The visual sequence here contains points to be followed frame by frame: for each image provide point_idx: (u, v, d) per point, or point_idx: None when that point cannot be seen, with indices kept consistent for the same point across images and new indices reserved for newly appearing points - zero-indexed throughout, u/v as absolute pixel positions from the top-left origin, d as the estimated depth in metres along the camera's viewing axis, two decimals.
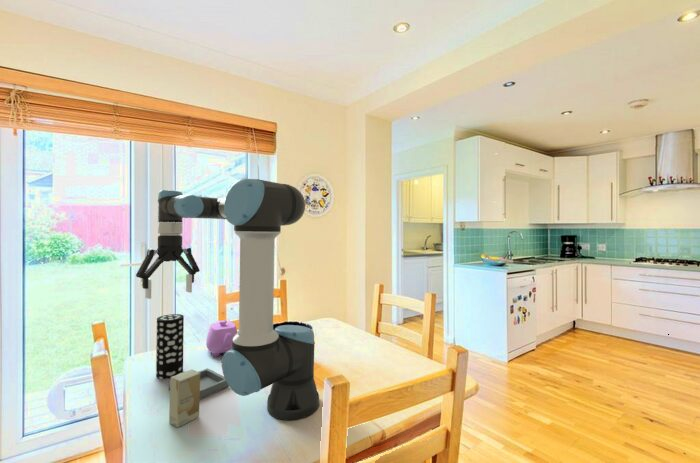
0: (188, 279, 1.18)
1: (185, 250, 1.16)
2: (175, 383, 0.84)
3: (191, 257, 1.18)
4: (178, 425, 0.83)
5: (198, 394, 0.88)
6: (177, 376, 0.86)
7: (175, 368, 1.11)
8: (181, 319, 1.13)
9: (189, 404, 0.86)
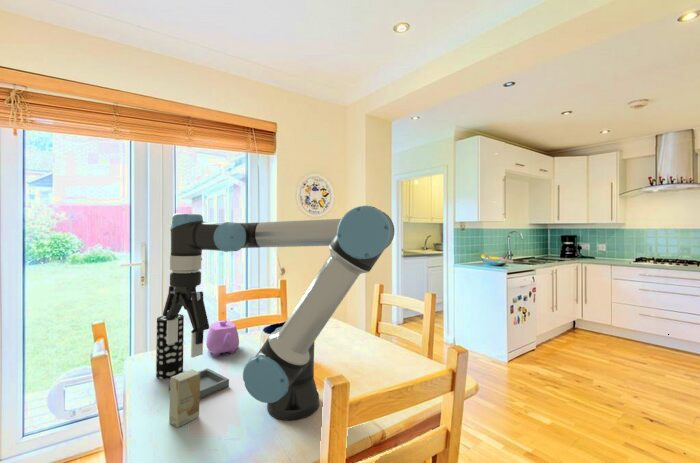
0: None
1: None
2: (175, 383, 0.84)
3: (194, 307, 0.81)
4: (178, 425, 0.83)
5: (198, 394, 0.88)
6: (177, 376, 0.86)
7: (175, 368, 1.11)
8: (181, 319, 1.13)
9: (189, 404, 0.86)
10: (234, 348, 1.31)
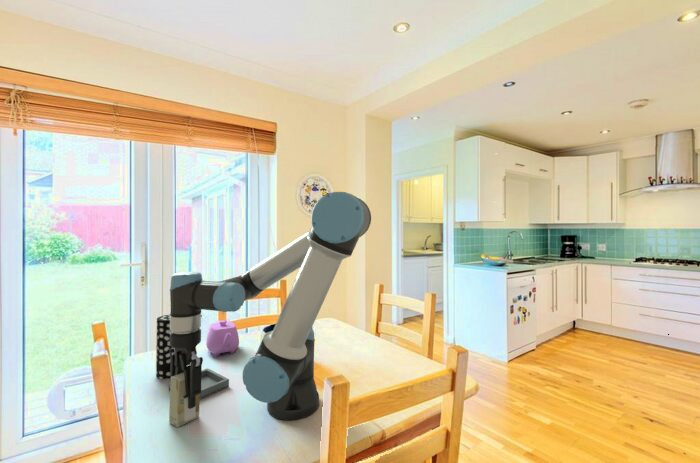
0: None
1: (193, 359, 0.83)
2: (175, 383, 0.84)
3: (191, 373, 0.83)
4: (178, 425, 0.83)
5: (198, 394, 0.88)
6: (177, 376, 0.86)
7: None
8: None
9: None
10: (234, 348, 1.31)
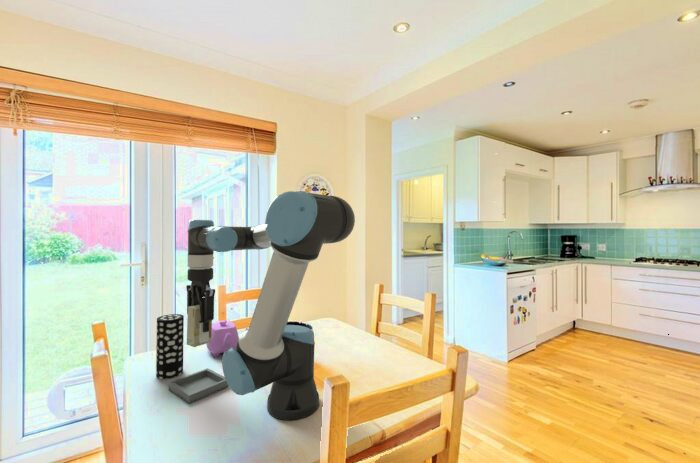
0: None
1: None
2: (192, 311, 1.00)
3: (205, 301, 0.99)
4: (194, 345, 1.00)
5: (210, 323, 1.04)
6: (193, 306, 1.02)
7: (175, 368, 1.11)
8: (181, 319, 1.13)
9: None
10: None
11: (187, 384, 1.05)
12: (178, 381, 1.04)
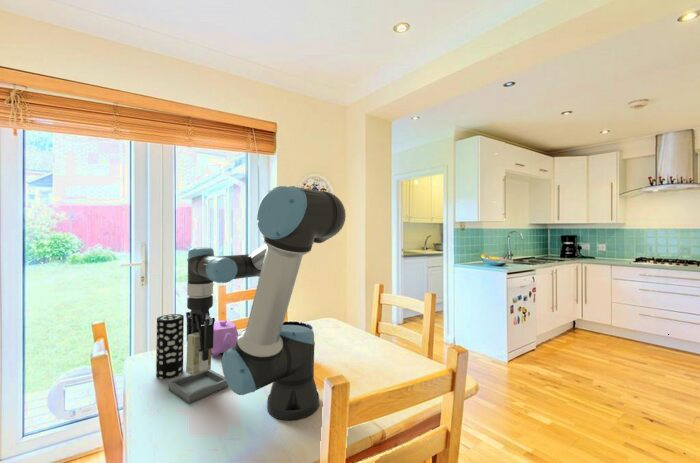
0: None
1: None
2: (191, 339, 1.01)
3: (205, 330, 0.99)
4: (194, 374, 1.00)
5: (210, 350, 1.04)
6: (193, 334, 1.02)
7: (175, 368, 1.11)
8: (181, 319, 1.13)
9: None
10: None
11: (187, 384, 1.05)
12: (178, 381, 1.04)
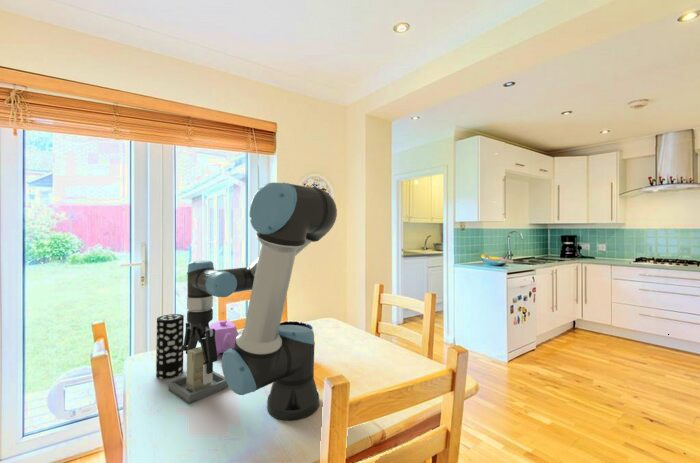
0: None
1: None
2: (191, 355, 1.01)
3: (207, 342, 0.98)
4: (194, 390, 1.00)
5: None
6: (193, 350, 1.02)
7: (175, 368, 1.11)
8: (181, 319, 1.13)
9: None
10: None
11: None
12: (178, 381, 1.04)
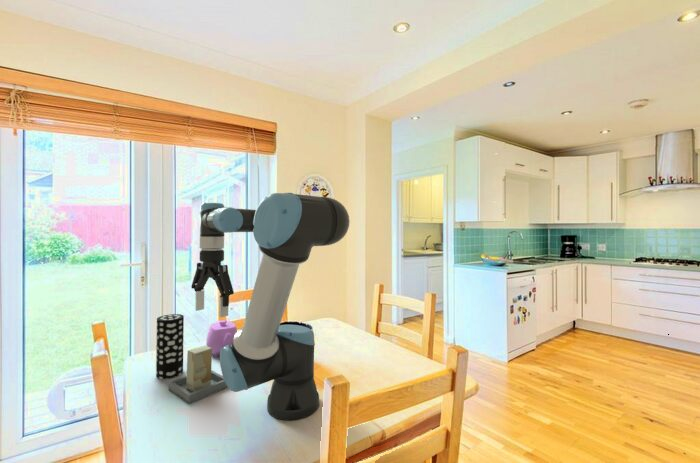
0: None
1: None
2: (191, 355, 1.01)
3: (221, 276, 1.02)
4: (194, 390, 1.00)
5: (210, 366, 1.04)
6: (193, 350, 1.02)
7: (175, 368, 1.11)
8: (181, 319, 1.13)
9: (203, 373, 1.02)
10: None
11: None
12: (178, 381, 1.04)
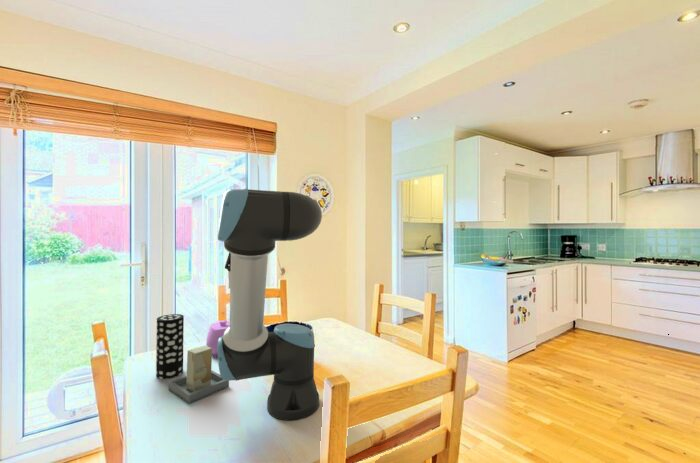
0: None
1: None
2: (191, 355, 1.01)
3: None
4: (194, 390, 1.00)
5: (210, 366, 1.04)
6: (193, 350, 1.02)
7: (175, 368, 1.11)
8: (181, 319, 1.13)
9: (203, 373, 1.02)
10: None
11: None
12: (178, 381, 1.04)
